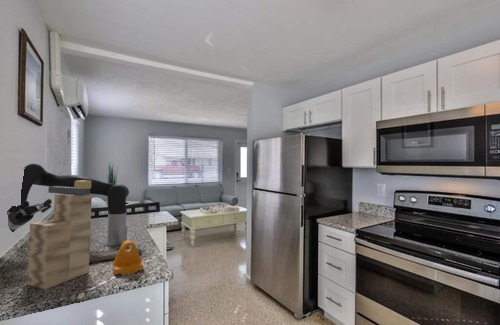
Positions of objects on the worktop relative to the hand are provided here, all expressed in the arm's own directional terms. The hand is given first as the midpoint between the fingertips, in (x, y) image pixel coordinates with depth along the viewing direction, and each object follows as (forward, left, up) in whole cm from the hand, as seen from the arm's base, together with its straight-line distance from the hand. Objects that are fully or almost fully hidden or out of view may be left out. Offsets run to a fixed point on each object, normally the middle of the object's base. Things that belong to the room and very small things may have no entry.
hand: (39, 201), depth 109 cm
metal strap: (-9, +15, +4) cm, 18 cm away
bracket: (-29, +28, -28) cm, 49 cm away
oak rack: (-7, +20, -28) cm, 35 cm away
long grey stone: (-23, +7, -28) cm, 37 cm away
